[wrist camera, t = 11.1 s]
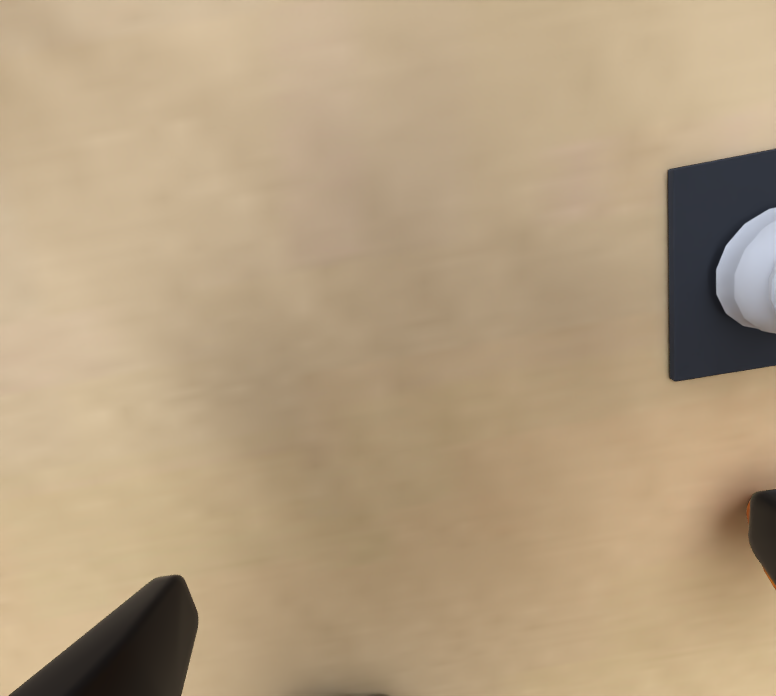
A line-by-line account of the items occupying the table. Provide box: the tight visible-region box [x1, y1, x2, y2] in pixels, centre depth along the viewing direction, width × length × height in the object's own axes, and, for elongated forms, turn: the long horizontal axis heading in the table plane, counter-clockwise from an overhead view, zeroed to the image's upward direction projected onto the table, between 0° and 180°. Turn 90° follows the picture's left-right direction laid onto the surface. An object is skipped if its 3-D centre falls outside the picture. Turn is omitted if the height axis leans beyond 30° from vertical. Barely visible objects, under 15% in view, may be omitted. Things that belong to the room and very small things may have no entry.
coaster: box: [668, 149, 776, 381], centre depth 18 cm, size 8×7×1 cm
